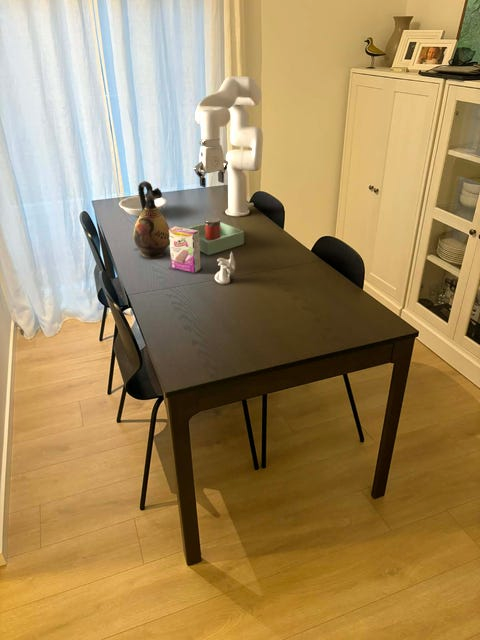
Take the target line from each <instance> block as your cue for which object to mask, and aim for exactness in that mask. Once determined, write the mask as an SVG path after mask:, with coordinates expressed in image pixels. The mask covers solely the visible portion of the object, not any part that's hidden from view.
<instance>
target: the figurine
mask: <svg viewBox="0 0 480 640" xmlns="http://www.w3.org/2000/svg"><path fill="white" fill-rule="evenodd" d="M216 261H217V262H218V264H217V266H220V270H219V271H217V272H216V273H215V275H214V280H215V281H216V282H217V283H218V284H222V285H226V284H229V283H230V282H231V278H230V277H231V275H234V274H235V271H236V261H235V258H234V253H233V252H232V251H231V252H230V253H229V259H225V258H224V257H218V259H217V260H216Z"/></svg>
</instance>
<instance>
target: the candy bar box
mask: <svg viewBox="0 0 480 640" xmlns="http://www.w3.org/2000/svg"><path fill="white" fill-rule="evenodd" d="M188 228H189V227H182V226H176V225H174V226H173V227H171V228H169V242H170V244H169V254H170V268H171V269H173V270H178V271H184V272H188V273H192V274H196V273H197V272H199V271H200V270H201V269H202V268H201V251H200V240H199V231H198V230H193V229H188Z"/></svg>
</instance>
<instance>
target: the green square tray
mask: <svg viewBox="0 0 480 640" xmlns="http://www.w3.org/2000/svg"><path fill="white" fill-rule="evenodd" d="M187 228H188V229H193V230H198V231H199V240H200V252H202V253H204V254H205V255H208V256H210V255H213V254H217V253H220V252H223V251H227V250H230V249H233V248H236V247H238V246H242V245H244V244H245V231H243V230H241V229H239V228H237V227H234V226H232V225H229V224H227V223H226V222H225V223H224V222H222V221H220V236H221V237H220V238H218V239H215V240H212V241H207V240H206V238H205V222H204V223H200V224H198V225H197V224H196V225H194V226H189V227H187Z"/></svg>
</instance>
